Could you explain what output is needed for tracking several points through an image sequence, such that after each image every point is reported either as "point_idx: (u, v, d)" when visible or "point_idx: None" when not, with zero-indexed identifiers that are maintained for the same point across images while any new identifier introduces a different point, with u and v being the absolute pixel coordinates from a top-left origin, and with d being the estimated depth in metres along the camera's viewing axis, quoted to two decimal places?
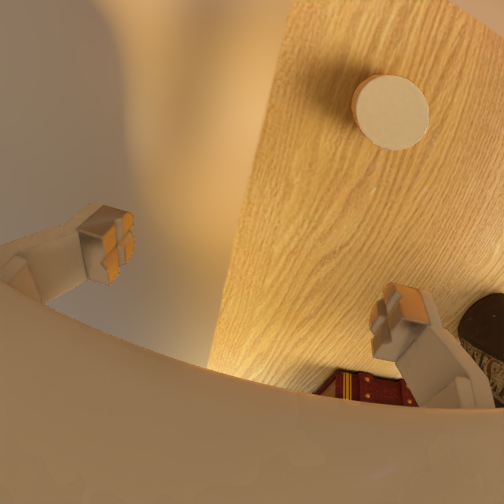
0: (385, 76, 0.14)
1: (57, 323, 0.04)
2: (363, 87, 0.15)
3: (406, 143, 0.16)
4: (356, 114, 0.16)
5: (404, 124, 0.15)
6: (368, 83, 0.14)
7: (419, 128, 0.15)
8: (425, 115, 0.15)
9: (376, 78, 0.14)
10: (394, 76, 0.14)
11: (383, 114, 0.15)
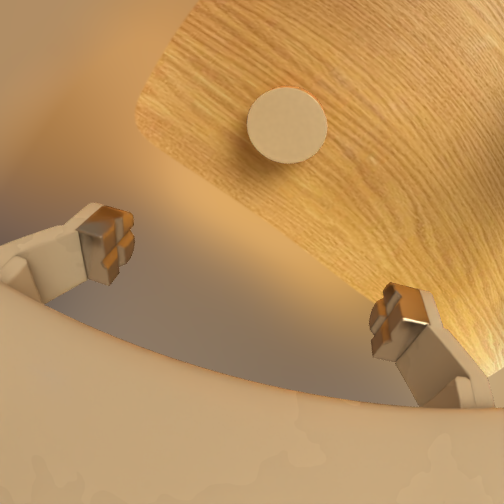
0: (247, 122, 0.17)
1: (57, 323, 0.04)
2: (254, 145, 0.18)
3: (321, 124, 0.16)
4: (278, 161, 0.18)
5: (300, 119, 0.16)
6: (251, 140, 0.18)
7: (309, 105, 0.16)
8: (296, 94, 0.15)
9: (247, 131, 0.17)
10: (249, 113, 0.17)
11: (284, 137, 0.17)
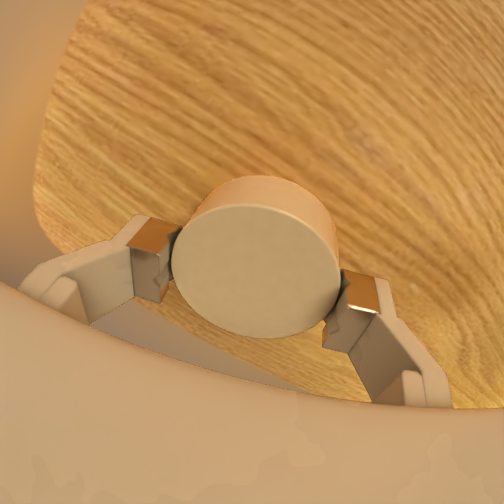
0: (173, 272, 0.09)
1: (57, 323, 0.04)
2: None
3: (328, 281, 0.08)
4: None
5: (282, 272, 0.08)
6: (187, 301, 0.09)
7: (301, 243, 0.07)
8: (270, 220, 0.07)
9: (178, 287, 0.09)
10: (173, 257, 0.08)
11: (250, 301, 0.09)
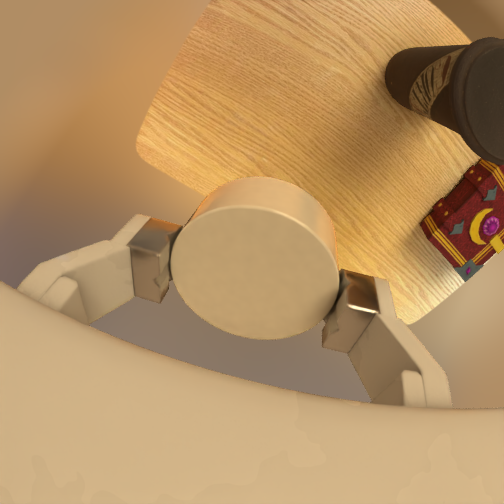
0: (172, 273, 0.09)
1: (57, 323, 0.04)
2: None
3: (327, 282, 0.08)
4: (241, 335, 0.10)
5: (281, 274, 0.08)
6: (186, 302, 0.09)
7: (299, 245, 0.07)
8: (268, 221, 0.07)
9: (177, 288, 0.09)
10: (172, 258, 0.08)
11: (248, 302, 0.09)
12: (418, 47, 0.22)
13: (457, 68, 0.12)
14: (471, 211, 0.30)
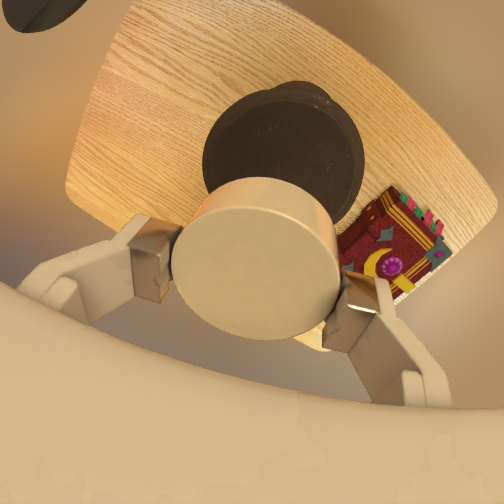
0: (173, 274, 0.09)
1: (57, 323, 0.04)
2: None
3: (327, 283, 0.08)
4: (242, 335, 0.10)
5: (281, 274, 0.08)
6: (187, 302, 0.09)
7: (300, 245, 0.07)
8: (269, 222, 0.07)
9: (177, 288, 0.09)
10: (172, 259, 0.08)
11: (249, 303, 0.09)
12: (283, 84, 0.26)
13: (204, 148, 0.15)
14: (363, 252, 0.34)
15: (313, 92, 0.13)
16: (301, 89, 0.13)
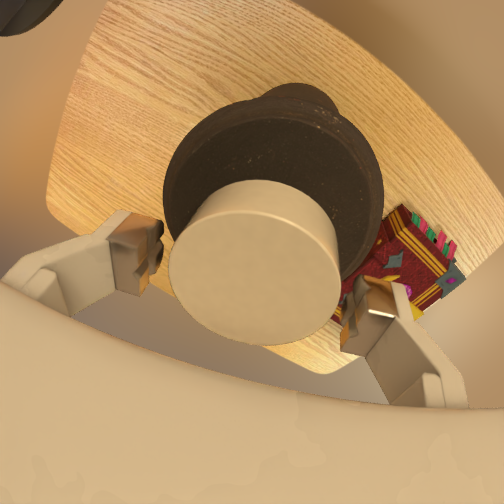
0: (170, 279, 0.08)
1: (57, 323, 0.04)
2: None
3: (328, 289, 0.08)
4: (241, 340, 0.10)
5: (281, 280, 0.08)
6: (185, 308, 0.09)
7: (300, 251, 0.07)
8: (268, 227, 0.07)
9: (175, 294, 0.09)
10: (170, 264, 0.08)
11: (248, 308, 0.09)
12: (278, 87, 0.22)
13: None
14: None
15: (314, 104, 0.09)
16: (296, 99, 0.09)
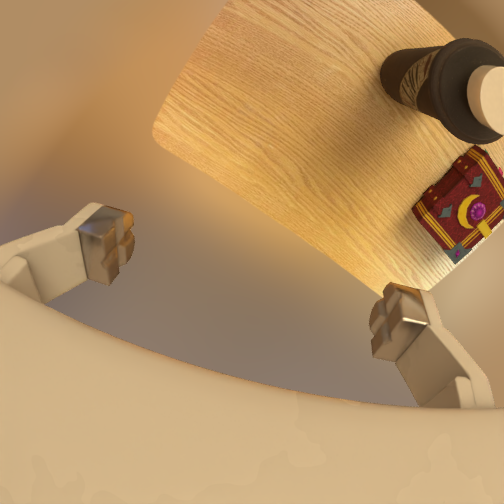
0: (481, 90, 0.12)
1: (57, 323, 0.04)
2: (482, 113, 0.13)
3: None
4: (497, 132, 0.13)
5: None
6: (481, 107, 0.13)
7: None
8: None
9: (480, 98, 0.12)
10: (483, 82, 0.12)
11: None
12: None
13: (434, 63, 0.15)
14: (458, 196, 0.34)
15: (495, 49, 0.12)
16: (490, 45, 0.13)
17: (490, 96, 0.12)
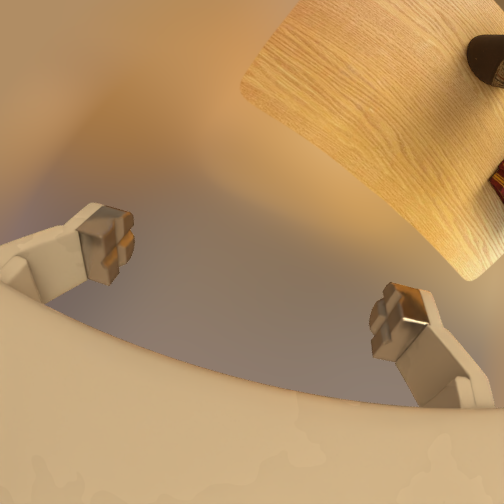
0: None
1: (57, 323, 0.04)
2: None
3: None
4: None
5: None
6: None
7: None
8: None
9: None
10: None
11: None
12: None
13: None
14: None
15: None
16: None
17: None
